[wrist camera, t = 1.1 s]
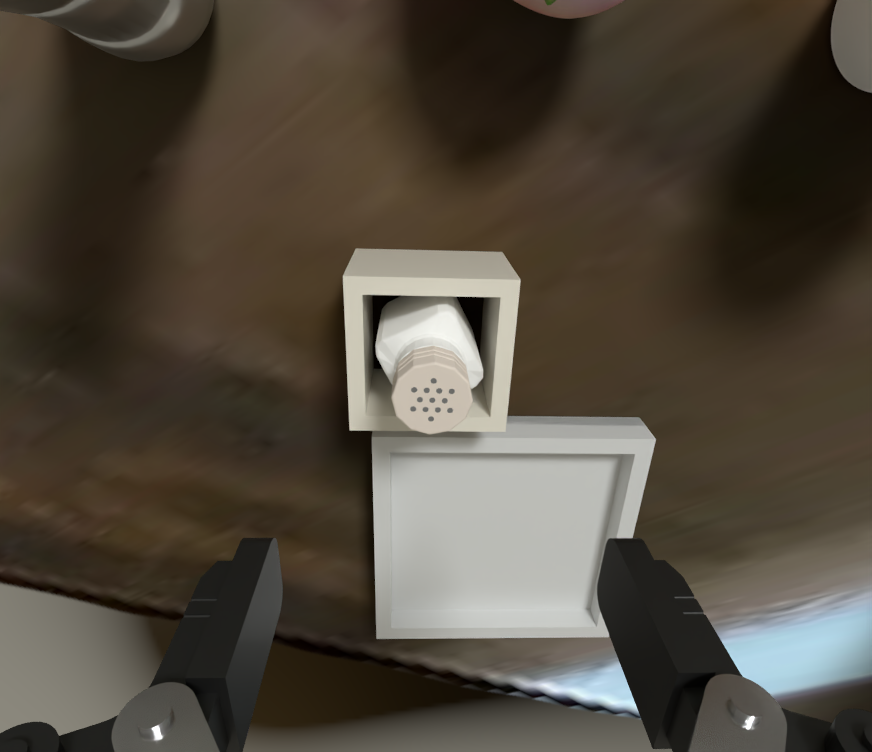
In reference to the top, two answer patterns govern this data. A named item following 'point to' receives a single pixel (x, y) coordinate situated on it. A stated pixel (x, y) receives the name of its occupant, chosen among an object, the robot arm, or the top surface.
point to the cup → (853, 41)
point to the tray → (502, 525)
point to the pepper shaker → (428, 361)
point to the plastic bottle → (125, 23)
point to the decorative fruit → (569, 7)
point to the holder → (429, 278)
